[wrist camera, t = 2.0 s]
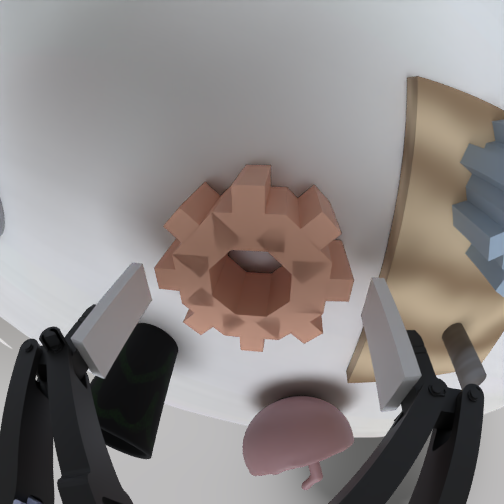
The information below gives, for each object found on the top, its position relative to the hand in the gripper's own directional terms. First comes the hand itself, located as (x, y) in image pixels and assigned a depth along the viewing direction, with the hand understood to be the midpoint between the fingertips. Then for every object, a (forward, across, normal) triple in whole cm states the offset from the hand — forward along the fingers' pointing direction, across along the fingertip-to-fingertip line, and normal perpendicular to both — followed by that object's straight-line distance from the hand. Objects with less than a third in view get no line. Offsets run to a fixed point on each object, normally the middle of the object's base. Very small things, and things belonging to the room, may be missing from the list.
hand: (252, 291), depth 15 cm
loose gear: (+4, 0, 0) cm, 4 cm away
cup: (+5, -11, -12) cm, 17 cm away
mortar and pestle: (+5, +5, -20) cm, 22 cm away
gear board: (+4, +18, 0) cm, 18 cm away
